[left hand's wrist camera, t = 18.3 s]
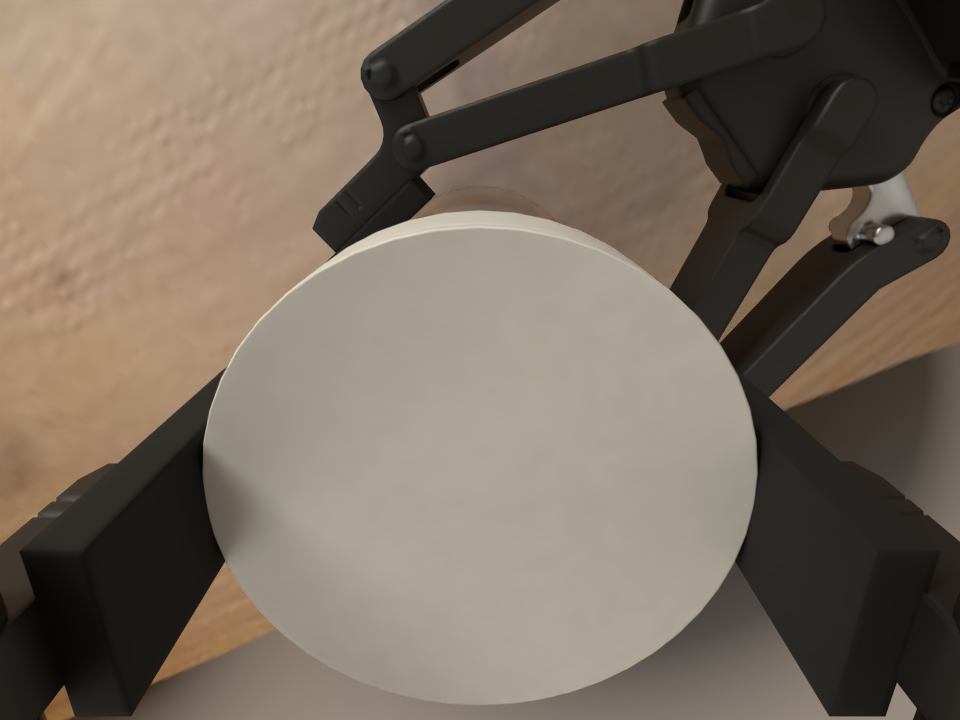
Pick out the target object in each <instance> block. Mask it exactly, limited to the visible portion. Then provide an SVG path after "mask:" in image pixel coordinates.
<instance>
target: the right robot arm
mask: <svg viewBox="0 0 960 720" xmlns="http://www.w3.org/2000/svg"><path fill="white" fill-rule="evenodd" d="M558 1H559V0H445V1H444V2H443V3H441V4H440V5H438V6H437V7H435V8H434V9H433V10H431V11H430V12H428V13H427V14H425V15H424V16H423V17H421V18H420V19H418V20H417V21H415V22H414V23H413V24H411V25H410V26H408V27H407V28H405V29H404V30H403V31H401V32H400V33H398V34H397V35H395V36H394V37H393V38H391V39H390V40H388V41H387V42H385V43H384V44H382V45H381V46H380V47H378V48H377V49H375V50H374V51H372V52H371V53H370V54H369V55H368V56H367V57H366V58H365V59H364V62H363V64H362V67H361V80H362V83H363V85H364V88H365V89H366V90H367V91H368V92H369V94H370V96H371V98H372V101H373V103H374V105H375V108H376V110H377V113H378V115H379V117H380V120H381V122H382V126H383V133H384V137H383V143H382V145H381V148H380V150H379V151H378V152H377V154H376V155H375V156H374V157H373V158H372V159H371V160H370V161H369V162H368V163H367V164H366V165H365V166H364V167H363V168H362V169H361V170H360V171H359V172H358V173H357V174H356V175H355V176H354V177H353V178H352V179H351V180H350V181H349V182H348V183H347V184H346V185H345V186H344V187H343V188H342V189H341V190H340V191H339V192H338V193H337V194H336V195H335V196H334V198H332V199H331V200H330V201H329V202H328V203H327V204H326V205H325V206H324V207H323V208H322V209H321V210H320V211H319V213H318V216H317V218H316V221H315V223H314V226H313V230H314V231H315V232H316V233H317V234H318V235H319V236H320V237H321V238H322V239H323V240H324V241H325V242H326V243H327V244H328V245H329V246H330V247H331V248H332V249H333V250H334V251H335V252H336V253H335V254H334V255H333V256H332V257H331V258H330V259H332V258H333V257H335V256H336V255H337V254H339V253H340V252H342V251H343V250H344V249H346V248H347V247H349V246H351V245H353V244H355V243H357V242H359V241H360V240H362V239H364V238H366V237H368V236H370V235H372V234H374V233H376V232H378V231H381V230H383V229H386V228H389V227H392V226H395V225H397V224H400V223H403V222H406V221H409V220H410V219H411V218H412V217H413V216H414V215H415V214H417V213H418V212H419V211H420V210H421V209H422V208H423V207H424V206H425V205H426V204H427V203H428V202H429V201H430V200H431V199H432V197H433V196H434V195H435V193H434V192H433V191H432V190H431V188H430V187H429V186H428V185H427V184H426V183H425V182H424V181H423V179H422V178H421V177H420V176H421V175H422V174H423V173H424V172H425V171H426V170H427V169H428V168H429V167H431V166H434V165H437V164H440V163H444V162H447V161H450V160H453V159H456V158H459V157H462V156H465V155H468V154H471V153H474V152H477V151H480V150H483V149H486V148H489V147H492V146H495V145H498V144H501V143H504V142H507V141H511V140H514V139H517V138H520V137H523V136H526V135H529V134H532V133H535V132H538V131H541V130H544V129H547V128H550V127H553V126H556V125H559V124H562V123H565V122H568V121H571V120H575V119H578V118H581V117H584V116H587V115H590V114H593V113H596V112H599V111H602V110H605V109H608V108H611V107H614V106H617V105H620V104H623V103H626V102H629V101H632V100H635V99H638V98H642V97H645V96H648V95H651V94H654V93H657V92H661V91H664V90H665V95H666V97H667V99H666V100H664V101H663V102H662V103H663V104H664V106H665V107H666V108H667V110H668V111H669V113H670V114H671V115H672V117H673V118H674V119H675V121H676V122H677V123H678V124H679V125H680V126H682V127H683V128H684V129H686V130H687V131H688V132H690V133H691V134H692V135H694V136H695V137H696V138H697V139H698V141H699V144H700V147H701V150H702V153H703V155H704V158H705V161H706V164H707V165H708V167H709V168H710V169H711V171H712V172H713V174H714V175H715V176H716V178H717V179H718V181H719V182H720V183H722V185H721V186H720V188H719V190H718V192H717V194H716V195H715V197H714V199H713V201H712V203H711V205H710V207H709V210H708V220H707V223H706V225H705V227H704V229H703V231H702V232H701V234H700V236H699V238H698V239H697V241H696V243H695V245H694V247H693V248H692V250H691V252H690V254H689V256H688V257H687V259H686V261H685V263H684V264H683V266H682V268H681V270H680V272H679V273H678V275H677V277H676V279H675V281H674V282H673V284H672V286H671V288H670V289H669V290H670V291H672V292H673V293H674V294H675V295H676V296H677V297H678V298H679V299H680V300H681V301H682V302H683V303H684V304H685V305H686V306H687V307H689V308H690V309H691V310H692V311H693V312H694V313H695V314H696V315H697V316H698V317H699V318H700V319H701V321H702V322H703V323H704V325H705V326H706V327H707V328H708V330H709V331H710V332H711V333H712V335H713V336H714V337H715V339H716V340H717V341H718V340H719V339H720V337H721V335H722V334H723V332H724V330H725V329H726V327H727V326H728V324H729V322H730V321H731V319H732V317H733V316H734V314H735V312H736V311H737V309H738V308H739V306H740V304H741V303H742V301H743V299H744V298H745V296H746V294H747V293H748V291H749V289H750V288H751V286H752V285H753V283H754V281H755V280H756V278H757V276H758V275H759V273H760V271H761V270H762V268H763V266H764V265H765V263H766V262H767V260H768V258H769V257H770V255H771V253H772V252H773V251H774V249H775V248H777V247H778V246H780V245H782V244H784V243H785V242H787V241H788V240H789V239H790V238H791V237H792V235H793V234H794V233H795V231H796V229H797V228H798V226H799V225H800V223H801V221H802V220H803V218H804V216H805V215H806V213H807V212H808V210H809V208H810V207H811V205H812V203H813V202H814V200H815V199H816V197H817V195H818V194H819V192H820V191H823V190H832V189H842V188H851V187H852V189H853V196H852V200H851V202H850V204H849V206H848V207H847V209H846V210H845V211H843V212H842V213H841V214H840V215H839V216H836V217H835V218H833V219H832V220H831V221H830V223H829V231H830V232H831V234H832V235H831V236H829V237H827V238H826V239H824V240H823V241H821V242H820V243H819V244H817V245H816V246H815V247H813V248H812V249H811V250H810V251H808V252H807V253H806V254H805V255H804V256H803V257H802V258H801V259H800V260H799V261H798V262H797V263H796V264H795V265H794V266H793V267H792V268H791V269H790V270H789V271H788V272H787V273H786V274H785V275H784V277H783V278H782V279H781V280H780V281H779V282H778V283H777V284H776V285H775V286H774V287H773V288H772V289H771V290H770V291H769V292H768V293H767V294H766V295H765V296H764V297H763V299H762V300H761V301H760V302H759V303H758V304H757V305H756V306H755V307H754V308H753V309H752V310H751V311H750V312H749V313H748V314H747V315H746V316H745V317H744V318H743V319H742V321H741V322H740V323H739V324H738V325H737V326H736V327H735V328H734V329H733V330H732V331H731V332H730V333H729V334H728V335H727V336H726V337H725V338H724V339H723V340H722V341H721V343H720V345H721V346H722V348H723V350H724V352H725V354H726V355H727V357H728V359H729V361H730V362H731V364H732V366H733V367H735V368H736V369H737V370H738V371H739V372H740V373H741V374H742V375H744V376H745V377H746V378H747V379H748V380H749V381H750V382H751V383H753V384H754V385H755V386H756V387H757V388H758V389H759V390H760V391H762V392H763V393H764V394H765V395H766V396H767V397H769V396H770V395H771V394H773V393H774V392H775V391H776V390H777V389H778V388H779V387H780V386H781V385H782V384H783V383H784V382H785V381H786V380H787V379H788V378H789V377H790V376H791V375H792V374H793V373H794V372H795V371H796V370H797V369H798V368H799V367H800V366H801V365H802V364H803V363H804V362H805V361H806V360H807V359H808V358H809V357H810V356H811V355H812V354H813V353H814V352H815V351H816V350H817V349H818V348H819V347H820V346H822V345H823V344H824V343H825V342H826V341H827V340H828V339H829V338H830V337H831V336H832V335H833V334H834V333H835V332H836V331H837V330H838V329H839V328H840V327H841V326H842V325H843V324H844V323H845V322H846V321H847V320H848V319H849V318H850V317H851V316H852V315H853V314H854V313H855V312H856V311H857V310H858V309H859V308H860V307H861V306H862V305H863V304H864V303H865V302H866V301H867V300H868V299H869V298H871V297H872V296H873V295H874V294H875V293H876V292H877V291H878V290H879V289H880V288H882V287H884V286H886V285H887V284H889V283H891V282H893V281H895V280H897V279H898V278H900V277H902V276H904V275H906V274H908V273H909V272H911V271H913V270H915V269H917V268H919V267H920V266H922V265H924V264H926V263H928V262H929V261H931V260H933V259H935V258H936V257H938V256H939V255H940V254H942V253H943V251H944V250H945V249H946V247H947V246H948V243H949V240H950V229H949V228H948V226H947V225H946V223H944V222H942V221H940V220H936V219H931V218H925V217H922V216H921V215H920V212H919V210H918V207H917V204H916V202H915V199H914V196H913V194H912V191H911V188H910V185H909V183H908V180H907V177H906V175H905V172H904V169H906V167H907V166H908V165H909V164H910V163H911V162H912V160H913V159H914V158H915V156H916V154H917V152H918V151H919V149H920V147H921V145H922V143H923V142H924V140H925V139H926V137H927V136H928V135H929V133H930V132H931V131H932V130H933V128H934V127H935V126H936V125H937V124H938V123H939V122H940V121H941V120H942V119H944V118H945V117H946V116H948V115H949V114H951V113H952V112H954V111H955V110H957V109H959V108H960V0H684V1H683V4H682V8H681V11H680V15H679V18H678V21H677V25H676V28H675V32H674V33H673V34H670V35H667V36H664V37H661V38H658V39H655V40H652V41H650V42H647V43H644V44H642V45H640V46H637V47H635V48H632V49H629V50H626V51H623V52H620V53H618V54H615V55H612V56H609V57H606V58H603V59H600V60H597V61H594V62H591V63H588V64H585V65H582V66H579V67H576V68H573V69H570V70H567V71H564V72H561V73H558V74H555V75H552V76H549V77H546V78H543V79H541V80H538V81H535V82H532V83H529V84H526V85H523V86H520V87H517V88H514V89H511V90H508V91H505V92H502V93H499V94H496V95H493V96H490V97H487V98H484V99H481V100H478V101H475V102H472V103H469V104H467V105H464V106H461V107H458V108H455V109H452V110H449V111H446V112H443V113H440V114H437V115H434V116H431V117H430V116H429V114H428V111H427V108H426V106H425V103H424V101H423V98H422V96H421V93H422V92H424V91H425V90H427V89H428V88H430V87H431V86H433V85H434V84H436V83H437V82H439V81H440V80H442V79H443V78H445V77H446V76H447V75H449V74H450V73H452V72H453V71H455V70H456V69H458V68H459V67H461V66H462V65H464V64H465V63H467V62H468V61H470V60H471V59H473V58H474V57H476V56H477V55H479V54H480V53H482V52H483V51H485V50H486V49H488V48H489V47H491V46H492V45H494V44H495V43H497V42H498V41H500V40H501V39H503V38H504V37H506V36H507V35H509V34H510V33H512V32H513V31H515V30H516V29H518V28H519V27H521V26H522V25H524V24H525V23H527V22H528V21H530V20H531V19H532V18H534V17H535V16H537V15H538V14H540V13H541V12H543V11H544V10H546V9H547V8H549V7H550V6H552V5H553V4H555V3H556V2H558ZM330 259H329V260H330ZM329 260H328V261H329ZM328 261H327V262H328Z"/></svg>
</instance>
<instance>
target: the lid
mask: <svg viewBox="0 0 960 720" xmlns="http://www.w3.org/2000/svg"><path fill="white" fill-rule="evenodd" d="M202 476H203V484H204V492H205V497H206V503H207V508H208V513H209V518H210V522H211V525H212V529H213V533H214V536H215V538H216V541H217V543H218V545H219V548H220V550H221V552H222V554H223V557H224V559H225V561H226V564H227V565H228V567H229V569H230V570H231V572H232V574H233V575H234V577H235V578H236V580H237V582H238V583H239V585H240V587H241V588H242V590H243V591H244V592H245V594H246V595H247V596H248V597H249V599H250V600H251V601H252V602H253V604H254V605H255V606H256V607H257V609H258V610H259V611H260V612H261V614H262V615H264V616H265V617H266V618H267V619H268V620H269V621H270V622H271V623H272V624H273V625H274V626H275V627H276V628H277V629H278V630H279V631H280V632H281V633H282V634H283V635H284V636H286V637H287V638H288V639H289V640H291V641H292V642H293V643H295V644H296V645H297V646H299V647H300V648H301V649H303V650H304V651H305V652H307V653H308V654H309V655H311V656H313V657H314V658H316V659H318V660H319V661H321V662H323V663H324V664H326V665H328V666H329V667H331V668H333V669H334V670H336V671H339V672H341V673H343V674H345V675H347V676H349V677H351V678H354V679H356V680H358V681H360V682H362V683H365V684H368V685H371V686H374V687H377V688H380V689H382V690H385V691H388V692H391V693H395V694H400V695H404V696H408V697H412V698H416V699H421V700H427V701H434V702H442V703H449V704H467V705H494V704H512V703H519V702H526V701H533V700H539V699H545V698H549V697H553V696H557V695H561V694H565V693H569V692H573V691H575V690H578V689H581V688H584V687H587V686H589V685H592V684H595V683H598V682H601V681H603V680H605V679H607V678H609V677H611V676H613V675H615V674H617V673H620V672H622V671H624V670H626V669H628V668H630V667H631V666H633V665H635V664H636V663H638V662H639V661H641V660H643V659H644V658H646V657H648V656H649V655H651V654H652V653H654V652H655V651H657V650H658V649H659V648H661V647H662V646H663V645H664V644H666V643H667V642H668V641H669V640H671V639H672V638H673V637H675V636H676V635H677V634H679V633H680V632H681V631H682V630H683V629H684V628H685V627H686V626H687V625H688V624H689V623H690V622H691V621H692V620H693V619H694V618H695V617H696V616H697V615H698V614H699V613H700V612H701V610H702V609H703V608H704V607H705V605H706V604H707V603H708V602H709V600H710V599H711V598H712V597H713V595H714V594H715V593H716V591H717V590H718V589H719V587H720V586H721V584H722V582H723V581H724V579H725V577H726V576H727V574H728V572H729V571H730V569H731V567H732V566H733V564H734V562H735V560H736V558H737V555H738V553H739V551H740V548H741V546H742V544H743V541H744V539H745V537H746V534H747V531H748V527H749V523H750V519H751V515H752V511H753V506H754V501H755V495H756V486H757V477H758V462H757V440H756V435H755V430H754V425H753V420H752V415H751V410H750V406H749V404H748V401H747V398H746V396H745V393H744V390H743V388H742V385H741V382H740V380H739V377H738V375H737V373H736V371H735V370H734V368H733V366H732V364H731V362H730V361H729V359H728V357H727V355H726V354H725V352H724V350H723V348H722V346H721V345H720V344H719V342H718V341H717V340H716V339H715V337H714V336H713V335H712V333H711V332H710V331H709V330H708V328H707V327H706V326H705V325H704V323H703V322H702V321H701V319H700V318H699V317H698V316H697V315H696V314H695V313H694V312H693V311H692V310H691V309H690V308H689V307H687V306H686V305H685V304H684V303H683V302H682V301H681V300H680V299H679V298H678V297H677V296H676V295H675V294H674V293H673V292H672V291H670V290H669V289H668V288H667V287H665V286H664V285H663V284H661V283H660V282H659V281H658V280H656V279H655V278H654V277H653V276H651V275H650V274H649V273H647V272H646V271H645V270H644V269H642V268H641V267H640V266H638V265H637V264H636V263H634V262H633V261H631V260H630V259H629V258H627V257H626V256H624V255H623V254H621V253H620V252H619V251H617V250H616V249H614V248H613V247H611V246H610V245H608V244H606V243H604V242H602V241H600V240H598V239H596V238H594V237H592V236H590V235H588V234H586V233H584V232H582V231H580V230H577V229H574V228H571V227H568V226H566V225H563V224H560V223H557V222H554V221H551V220H548V219H543V218H538V217H533V216H528V215H523V214H518V213H512V212H496V211H479V210H478V211H464V212H451V213H441V214H437V215H432V216H427V217H422V218H418V219H413V220H409V221H406V222H403V223H400V224H397V225H395V226H392V227H389V228H386V229H383V230H381V231H378V232H376V233H374V234H372V235H370V236H368V237H366V238H364V239H362V240H360V241H359V242H357V243H355V244H353V245H351V246H349V247H347V248H346V249H344V250H343V251H342V252H340V253H339V254H337V255H336V256H335V257H333V258H332V259H330V260H329V261H328V262H326V263H325V264H323V265H322V266H321V267H319V268H318V269H317V270H316V271H314V272H313V273H312V274H310V275H309V276H308V277H307V278H305V279H304V280H303V281H301V282H300V283H299V284H298V285H296V286H295V287H294V288H292V289H291V290H290V291H289V292H287V293H286V294H285V295H284V296H283V297H282V298H281V299H280V300H279V301H278V302H277V303H276V304H275V305H274V306H273V307H272V308H271V309H270V310H269V311H268V312H267V313H266V314H264V315H263V316H262V317H261V318H260V319H259V321H258V322H257V323H256V325H255V326H254V327H253V329H252V330H251V331H250V332H249V334H248V335H247V336H246V338H245V339H244V340H243V342H242V343H241V344H240V346H239V347H238V348H237V350H236V352H235V354H234V356H233V357H232V359H231V361H230V363H229V365H228V367H227V368H226V370H225V372H224V374H223V376H222V378H221V380H220V383H219V385H218V388H217V391H216V394H215V397H214V399H213V402H212V405H211V408H210V411H209V416H208V421H207V427H206V432H205V437H204V442H203V474H202Z"/></svg>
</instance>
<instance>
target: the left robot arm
mask: <svg viewBox="0 0 960 720" xmlns="http://www.w3.org/2000/svg"><path fill="white" fill-rule="evenodd" d="M227 367H228V366H227ZM227 367H226V368H227ZM226 368H225V369H224V370H223V371H221V372H220V373H219V374H218V375H217V376H216V377H215V378H214V379H212V380H211V381H210V382H209V383H208V384H207V385H206V386H205V387H203V388H202V389H201V390H200V391H199V392H198V393H197V394H195V395H194V396H193V397H192V398H191V399H190V400H189V401H188V402H186V403H185V404H184V405H183V406H182V407H181V408H180V409H179V410H177V411H176V412H175V413H174V414H173V415H172V416H171V417H170V418H168V419H167V420H166V421H165V422H164V423H163V424H162V425H161V426H159V427H158V428H157V429H156V430H155V431H154V432H153V433H152V434H150V435H149V436H148V437H147V438H146V439H145V440H144V441H143V442H141V443H140V444H139V445H138V446H137V447H136V448H135V449H134V450H132V451H131V452H130V453H129V454H128V455H127V456H126V457H125V458H123V459H122V460H121V461H120V462H119V463H118V464H107V465H105V466H103V467H101V468H99V469H98V470H96V471H94V472H92V473H90V474H88V475H86V476H84V477H82V478H80V479H78V480H77V481H76V482H75V483H74V484H72V485H71V486H70V487H69V488H68V489H67V490H65V491H64V492H63V493H62V494H61V495H59V496H58V497H57V500H56V502H51V503H50V504H49V505H47V506H46V507H45V508H44V509H43V510H42V511H40V512H39V513H38V517H37V518H32V519H31V520H30V521H28V522H27V523H26V524H25V525H24V526H23V527H21V528H20V529H19V530H18V531H17V532H15V533H14V534H13V535H12V536H11V537H9V538H8V539H7V540H6V541H5V542H3V543H2V544H1V545H0V720H47V718H46V716H45V713H44V710H45V709H46V708H47V706H48V705H49V704H50V702H51V701H52V700H53V699H54V697H55V696H56V695H57V693H58V692H59V691H60V689H61V688H62V687H63V686H64V685H65V688H66V691H67V694H68V697H69V700H70V703H71V706H72V709H73V712H74V715H75V716H131V715H132V714H133V712H134V711H135V709H136V707H137V706H138V704H139V702H140V701H141V699H142V697H143V696H144V694H145V692H146V691H147V689H148V687H149V686H150V684H151V683H152V681H153V679H154V678H155V676H156V674H157V673H158V671H159V669H160V668H161V666H162V664H163V663H164V661H165V659H166V658H167V656H168V655H169V653H170V651H171V650H172V648H173V646H174V645H175V643H176V641H177V640H178V638H179V636H180V635H181V633H182V631H183V630H184V628H185V627H186V625H187V623H188V622H189V620H190V618H191V617H192V615H193V613H194V612H195V610H196V608H197V607H198V605H199V603H200V602H201V600H202V599H203V597H204V595H205V594H206V592H207V590H208V589H209V587H210V585H211V584H212V582H213V580H214V579H215V577H216V575H217V574H218V572H219V571H220V569H221V567H222V566H223V564H224V562H225V559H224V557H223V554H222V552H221V550H220V548H219V545H218V543H217V541H216V538H215V536H214V533H213V529H212V525H211V522H210V518H209V513H208V508H207V503H206V497H205V492H204V484H203V476H202V474H203V442H204V437H205V432H206V427H207V421H208V416H209V411H210V408H211V405H212V402H213V399H214V397H215V394H216V391H217V388H218V385H219V383H220V380H221V378H222V376H223V374H224V372H225V370H226ZM733 368H734V370H735V371H736V373H737V375H738V377H739V380H740V382H741V385H742V388H743V390H744V393H745V396H746V398H747V401H748V404H749V406H750V410H751V415H752V420H753V425H754V430H755V435H756V440H757V462H758V477H757V486H756V495H755V501H754V506H753V511H752V515H751V519H750V523H749V527H748V531H747V534H746V537H745V539H744V541H743V544H742V546H741V548H740V551H739V553H738V555H737V558H736V560H735V562H736V563H737V565H738V567H739V568H740V570H741V572H742V573H743V575H744V576H745V578H746V580H747V581H748V583H749V585H750V586H751V588H752V590H753V591H754V593H755V595H756V596H757V598H758V600H759V601H760V603H761V604H762V606H763V608H764V609H765V611H766V613H767V614H768V616H769V618H770V619H771V621H772V623H773V624H774V626H775V628H776V629H777V631H778V632H779V634H780V636H781V637H782V639H783V641H784V642H785V644H786V646H787V647H788V649H789V651H790V652H791V654H792V656H793V657H794V659H795V660H796V662H797V664H798V665H799V667H800V669H801V670H802V672H803V674H804V675H805V677H806V679H807V680H808V682H809V684H810V685H811V687H812V688H813V690H814V692H815V693H816V695H817V697H818V698H819V700H820V702H821V703H822V705H823V707H824V708H825V710H826V711H827V713H828V715H829V716H886V713H887V710H888V707H889V704H890V701H891V698H892V695H893V692H894V689H895V686H896V683H898V684H899V685H900V687H901V688H902V689H903V691H904V692H905V693H906V695H907V696H908V697H909V699H910V700H911V701H912V702H913V704H914V705H915V706H916V708H917V710H916V713H915V716H914V718H913V720H960V542H959V541H958V540H957V539H956V538H955V537H953V536H952V535H951V534H950V533H949V532H947V531H946V530H945V529H944V528H943V527H941V526H940V525H939V524H938V523H937V522H935V521H934V520H933V519H932V518H931V517H929V516H928V515H924V514H923V511H922V510H921V509H920V508H919V507H917V506H916V505H915V504H914V503H913V502H912V501H910V500H908V499H905V496H904V495H903V494H902V493H901V492H899V491H898V490H897V489H896V488H895V487H893V486H892V485H891V484H890V483H889V482H888V481H886V480H885V479H884V478H883V477H881V476H879V475H877V474H875V473H873V472H871V471H869V470H867V469H865V468H863V467H861V466H860V465H858V464H856V463H854V462H840V461H839V460H838V459H837V458H836V457H835V456H834V455H832V454H831V453H830V452H829V451H828V450H827V449H826V448H825V447H823V446H822V445H821V444H820V443H819V442H818V441H817V440H816V439H814V438H813V437H812V436H811V435H810V434H809V433H808V432H807V431H805V430H804V429H803V428H802V427H801V426H800V425H799V424H798V423H796V422H795V421H794V420H793V419H792V418H791V417H790V416H788V415H787V414H786V413H785V412H784V411H783V410H782V409H781V408H780V407H778V406H777V405H776V404H775V403H774V402H773V401H772V400H771V399H769V398H768V397H767V396H766V395H765V394H764V393H763V392H762V391H760V390H759V389H758V388H757V387H756V386H755V385H754V384H753V383H751V382H750V381H749V380H748V379H747V378H746V377H745V376H744V375H742V374H741V373H740V372H739V371H738V370H737V369H736V368H735V367H733Z"/></svg>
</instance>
